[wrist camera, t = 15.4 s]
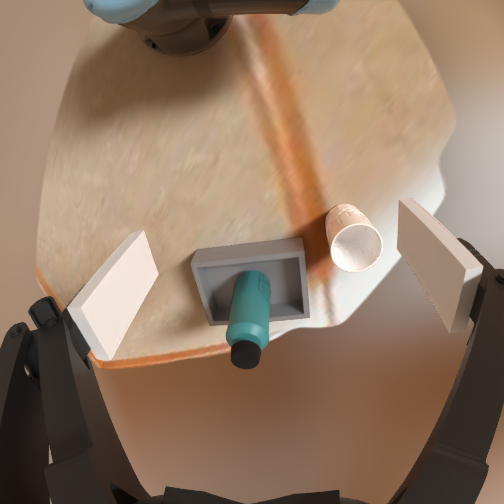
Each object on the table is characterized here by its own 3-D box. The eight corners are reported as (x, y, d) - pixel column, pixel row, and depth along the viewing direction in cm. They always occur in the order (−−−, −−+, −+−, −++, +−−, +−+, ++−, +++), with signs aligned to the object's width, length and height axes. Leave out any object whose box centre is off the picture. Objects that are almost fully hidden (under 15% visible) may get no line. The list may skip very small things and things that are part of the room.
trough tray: (196, 249, 56) (190, 263, 51) (302, 237, 53) (304, 250, 48) (214, 309, 62) (209, 325, 58) (307, 301, 59) (309, 317, 55)
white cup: (371, 232, 51) (388, 260, 43) (330, 248, 54) (340, 279, 45) (357, 193, 48) (374, 215, 40) (314, 210, 50) (322, 236, 42)
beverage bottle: (232, 267, 56) (213, 347, 38) (268, 261, 55) (264, 342, 37) (240, 296, 59) (226, 377, 41) (275, 291, 57) (272, 374, 40)
